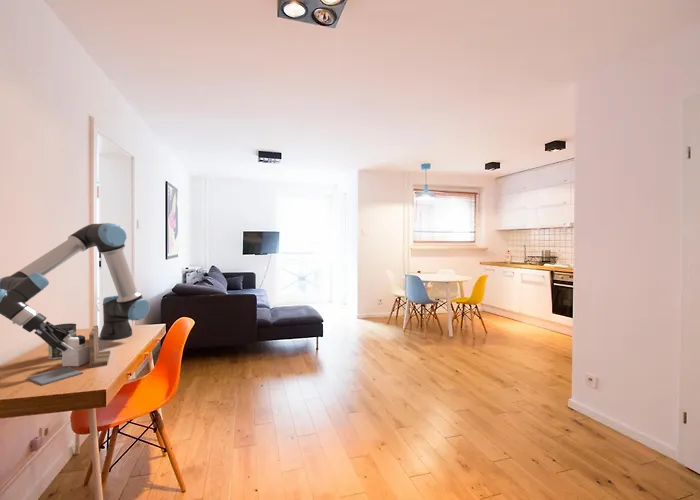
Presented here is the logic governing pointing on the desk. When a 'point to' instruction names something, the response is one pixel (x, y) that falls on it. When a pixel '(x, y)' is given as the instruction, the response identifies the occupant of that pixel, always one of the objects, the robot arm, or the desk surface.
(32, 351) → the desk surface
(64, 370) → the charcoal mat
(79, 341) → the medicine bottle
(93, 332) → the walnut backboard
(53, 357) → the coffee can
